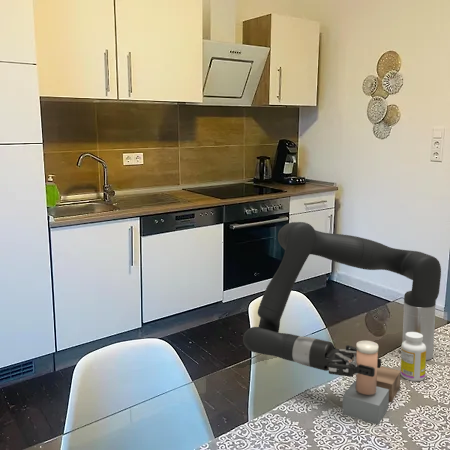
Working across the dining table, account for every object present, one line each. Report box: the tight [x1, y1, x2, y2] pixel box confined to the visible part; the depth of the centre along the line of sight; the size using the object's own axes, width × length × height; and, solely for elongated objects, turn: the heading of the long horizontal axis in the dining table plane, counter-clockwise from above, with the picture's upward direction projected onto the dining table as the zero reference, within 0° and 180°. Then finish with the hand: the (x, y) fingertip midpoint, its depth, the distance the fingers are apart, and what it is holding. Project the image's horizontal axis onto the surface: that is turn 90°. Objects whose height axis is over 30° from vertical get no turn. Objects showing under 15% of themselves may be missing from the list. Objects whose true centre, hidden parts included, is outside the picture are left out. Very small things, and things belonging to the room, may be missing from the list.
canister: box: [355, 340, 379, 395], centre depth 119 cm, size 5×5×12 cm
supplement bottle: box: [400, 332, 427, 382], centre depth 137 cm, size 7×7×13 cm
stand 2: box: [377, 365, 402, 403], centre depth 130 cm, size 9×9×5 cm
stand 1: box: [342, 380, 390, 426], centre depth 120 cm, size 9×9×5 cm
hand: (377, 367), depth 117 cm, fingers closed on canister, 5 cm apart
